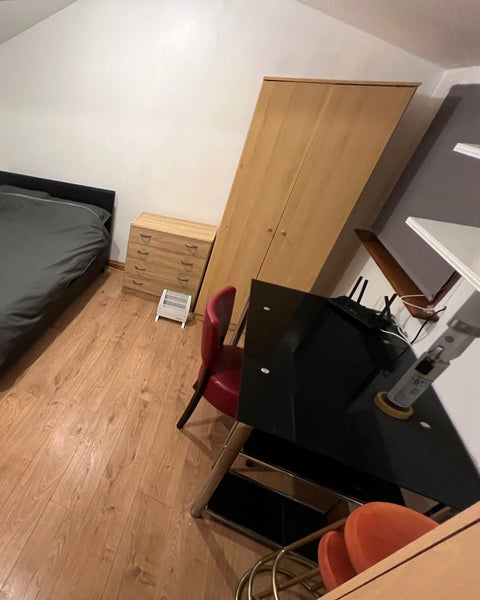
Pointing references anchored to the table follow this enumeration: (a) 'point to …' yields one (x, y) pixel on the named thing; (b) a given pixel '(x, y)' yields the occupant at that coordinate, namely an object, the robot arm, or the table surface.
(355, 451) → the table surface
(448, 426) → the table surface
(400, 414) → the stand
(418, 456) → the table surface
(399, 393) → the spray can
